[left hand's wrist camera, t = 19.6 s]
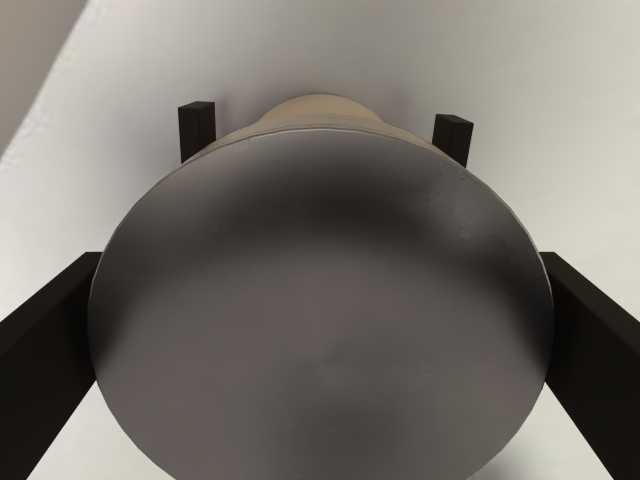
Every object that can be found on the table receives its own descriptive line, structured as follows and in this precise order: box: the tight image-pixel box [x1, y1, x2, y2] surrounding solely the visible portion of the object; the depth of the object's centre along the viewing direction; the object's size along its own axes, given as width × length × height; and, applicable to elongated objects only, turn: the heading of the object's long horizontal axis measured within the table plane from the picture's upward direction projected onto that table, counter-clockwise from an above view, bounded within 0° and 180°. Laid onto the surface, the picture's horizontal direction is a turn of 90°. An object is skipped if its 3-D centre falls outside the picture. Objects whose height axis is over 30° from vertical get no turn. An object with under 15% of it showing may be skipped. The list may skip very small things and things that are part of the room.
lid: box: [87, 113, 555, 480], centre depth 11 cm, size 10×10×2 cm
